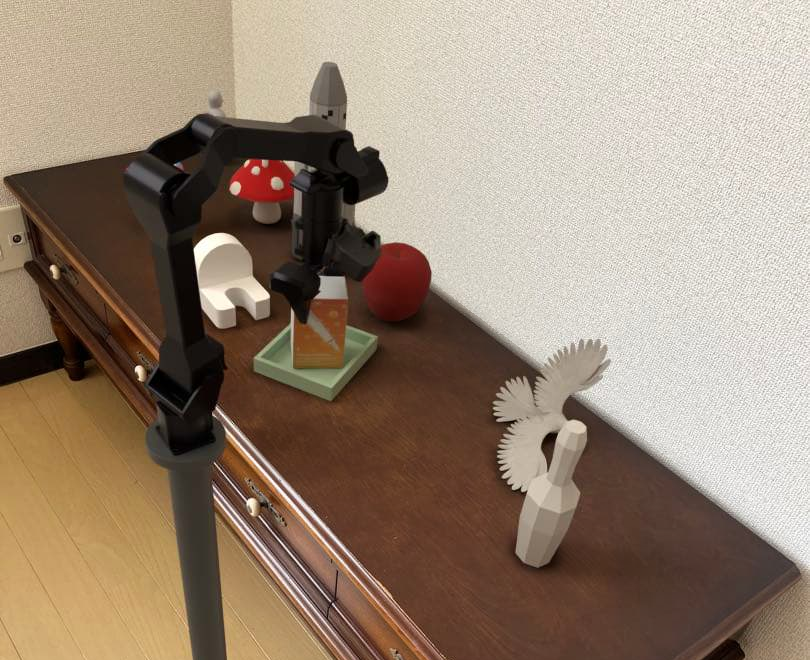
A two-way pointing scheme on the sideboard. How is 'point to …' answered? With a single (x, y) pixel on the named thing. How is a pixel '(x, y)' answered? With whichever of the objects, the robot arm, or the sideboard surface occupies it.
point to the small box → (322, 328)
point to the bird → (543, 408)
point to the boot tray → (315, 380)
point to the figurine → (215, 104)
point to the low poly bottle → (551, 499)
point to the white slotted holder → (228, 280)
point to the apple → (397, 282)
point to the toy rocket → (330, 106)
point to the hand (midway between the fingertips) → (318, 309)
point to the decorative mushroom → (264, 187)
